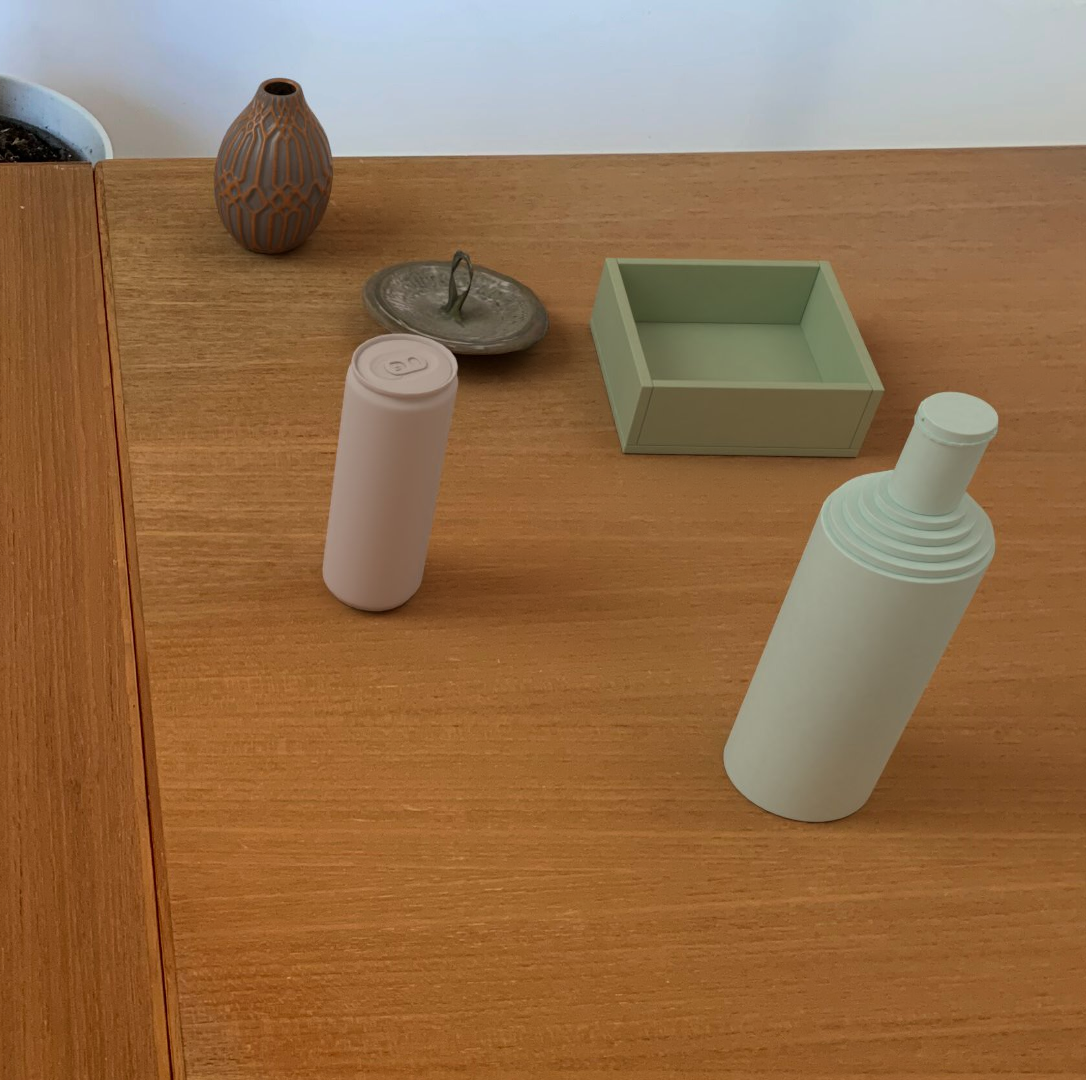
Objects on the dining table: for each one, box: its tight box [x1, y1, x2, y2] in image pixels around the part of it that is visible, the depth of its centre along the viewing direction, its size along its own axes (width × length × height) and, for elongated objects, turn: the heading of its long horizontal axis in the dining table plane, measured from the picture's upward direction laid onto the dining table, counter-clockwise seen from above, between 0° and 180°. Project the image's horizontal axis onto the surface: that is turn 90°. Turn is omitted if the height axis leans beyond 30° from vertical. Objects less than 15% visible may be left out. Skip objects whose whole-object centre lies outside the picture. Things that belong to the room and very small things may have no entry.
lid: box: [361, 249, 551, 356], centre depth 94 cm, size 11×10×5 cm
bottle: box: [722, 391, 999, 823], centre depth 67 cm, size 6×6×18 cm
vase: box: [213, 77, 334, 254], centre depth 98 cm, size 7×7×9 cm
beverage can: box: [321, 333, 459, 612], centre depth 77 cm, size 5×5×12 cm
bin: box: [589, 257, 886, 458], centre depth 90 cm, size 12×12×4 cm
